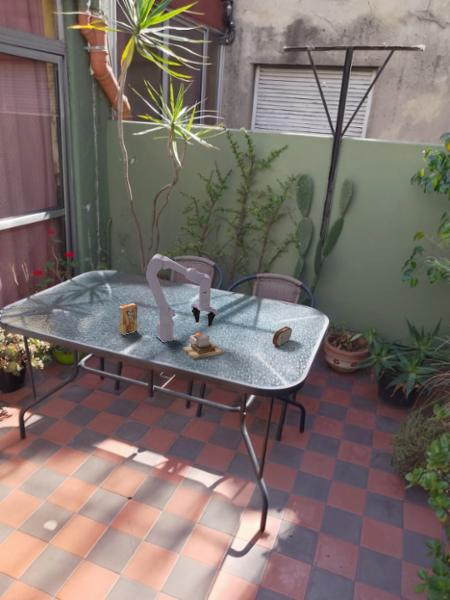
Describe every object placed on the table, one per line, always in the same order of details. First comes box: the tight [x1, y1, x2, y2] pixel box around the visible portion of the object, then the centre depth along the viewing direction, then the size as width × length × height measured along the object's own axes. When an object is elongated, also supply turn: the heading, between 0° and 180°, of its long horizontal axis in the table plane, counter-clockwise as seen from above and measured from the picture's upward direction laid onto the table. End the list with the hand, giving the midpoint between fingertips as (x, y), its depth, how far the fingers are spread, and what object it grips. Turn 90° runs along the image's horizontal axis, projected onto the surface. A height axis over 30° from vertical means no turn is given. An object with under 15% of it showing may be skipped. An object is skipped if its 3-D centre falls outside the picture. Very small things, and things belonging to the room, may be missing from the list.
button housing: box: [189, 334, 196, 344], centre depth 229 cm, size 7×7×3 cm
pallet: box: [182, 341, 224, 361], centre depth 220 cm, size 12×16×3 cm
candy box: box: [118, 302, 138, 334], centre depth 234 cm, size 9×4×15 cm, turn 137°
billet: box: [196, 333, 210, 349], centre depth 218 cm, size 4×5×7 cm
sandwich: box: [272, 325, 293, 347], centre depth 233 cm, size 15×3×8 cm, turn 141°
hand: (203, 324), depth 229 cm, fingers open, 7 cm apart
